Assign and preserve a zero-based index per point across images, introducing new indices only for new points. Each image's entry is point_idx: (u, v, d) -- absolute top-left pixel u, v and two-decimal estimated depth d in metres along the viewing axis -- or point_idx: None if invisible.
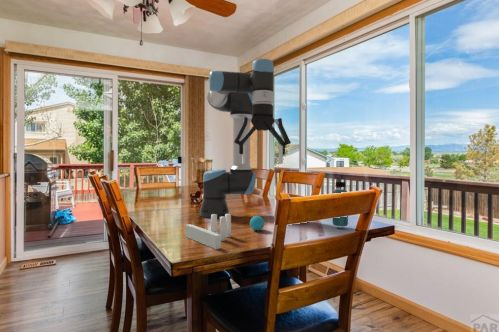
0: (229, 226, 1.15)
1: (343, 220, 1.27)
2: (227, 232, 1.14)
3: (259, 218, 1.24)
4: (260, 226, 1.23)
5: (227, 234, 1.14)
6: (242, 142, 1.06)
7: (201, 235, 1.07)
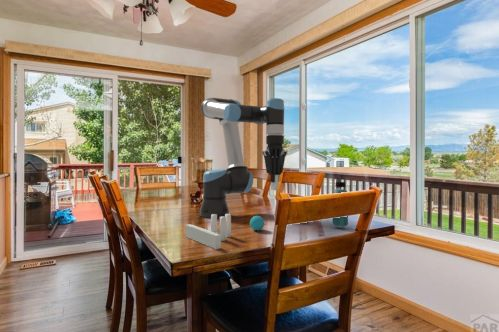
0: (229, 226, 1.15)
1: (343, 220, 1.27)
2: (227, 232, 1.14)
3: (259, 218, 1.24)
4: (260, 226, 1.23)
5: (227, 234, 1.14)
6: None
7: (201, 235, 1.07)
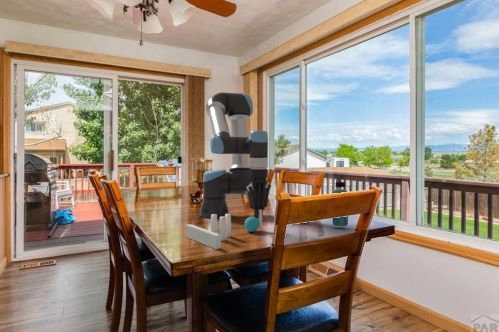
0: (229, 226, 1.15)
1: (343, 220, 1.27)
2: (227, 232, 1.14)
3: (252, 221, 1.21)
4: (255, 228, 1.21)
5: (227, 234, 1.14)
6: None
7: (201, 235, 1.07)
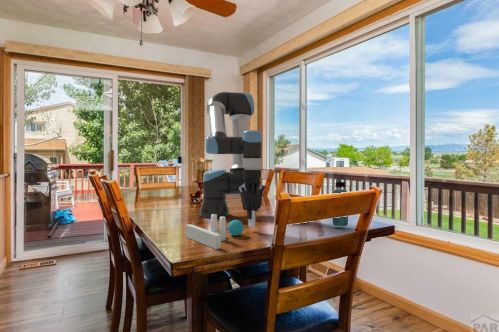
0: None
1: (343, 220, 1.27)
2: None
3: None
4: (241, 227, 1.15)
5: None
6: None
7: (201, 235, 1.07)
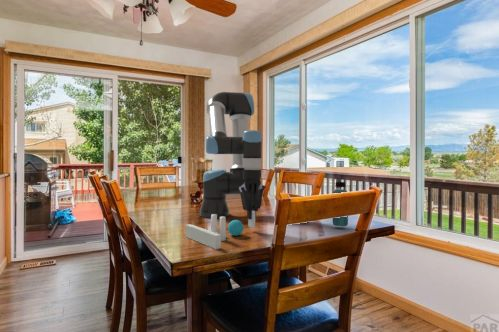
0: None
1: (343, 220, 1.27)
2: None
3: None
4: (241, 227, 1.15)
5: None
6: None
7: (201, 235, 1.07)
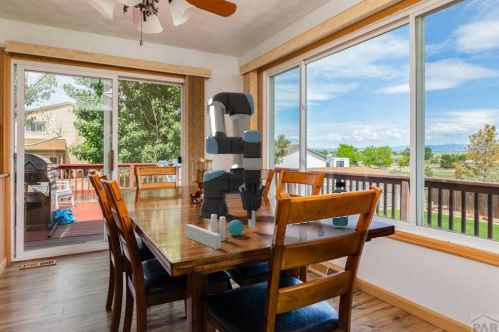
0: None
1: (343, 220, 1.27)
2: None
3: None
4: (241, 227, 1.15)
5: None
6: None
7: (201, 235, 1.07)
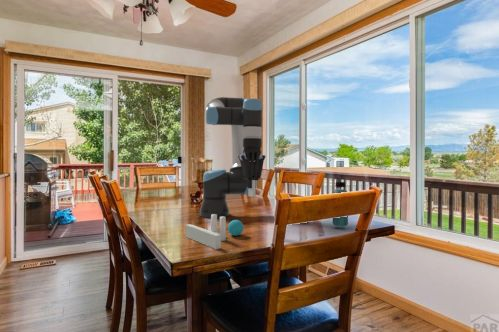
0: None
1: (343, 220, 1.27)
2: None
3: None
4: (241, 227, 1.15)
5: None
6: None
7: (201, 235, 1.07)
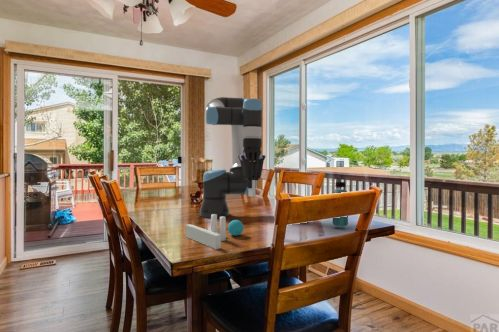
0: None
1: (343, 220, 1.27)
2: None
3: None
4: (241, 227, 1.15)
5: None
6: None
7: (201, 235, 1.07)
